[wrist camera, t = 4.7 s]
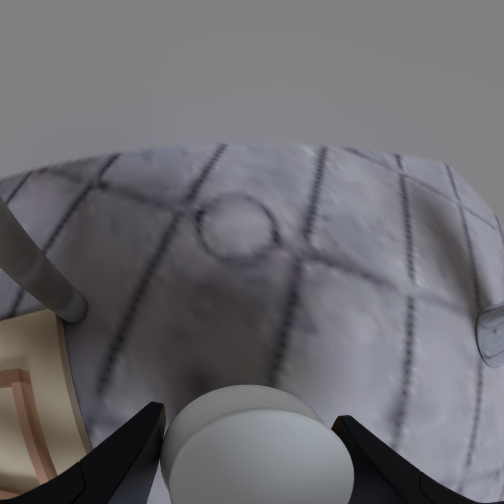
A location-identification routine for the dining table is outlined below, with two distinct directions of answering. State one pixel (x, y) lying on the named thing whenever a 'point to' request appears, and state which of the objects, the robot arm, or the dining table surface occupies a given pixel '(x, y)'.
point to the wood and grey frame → (37, 370)
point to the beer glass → (491, 335)
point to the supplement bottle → (254, 451)
